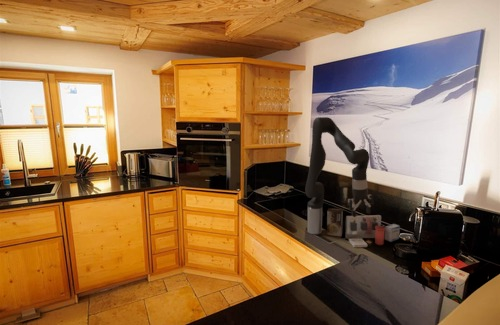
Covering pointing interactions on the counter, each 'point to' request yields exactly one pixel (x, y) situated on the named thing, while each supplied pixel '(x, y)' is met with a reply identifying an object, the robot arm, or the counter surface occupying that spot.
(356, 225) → the breaker panel
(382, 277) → the counter surface
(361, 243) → the lockout socket
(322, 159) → the robot arm
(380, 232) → the cap
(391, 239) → the medicine box
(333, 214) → the coffee box
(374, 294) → the counter surface
